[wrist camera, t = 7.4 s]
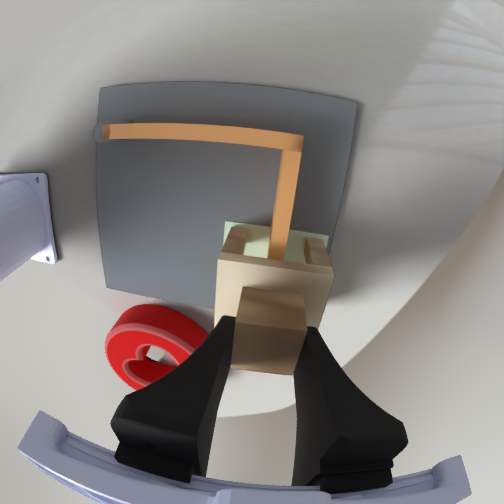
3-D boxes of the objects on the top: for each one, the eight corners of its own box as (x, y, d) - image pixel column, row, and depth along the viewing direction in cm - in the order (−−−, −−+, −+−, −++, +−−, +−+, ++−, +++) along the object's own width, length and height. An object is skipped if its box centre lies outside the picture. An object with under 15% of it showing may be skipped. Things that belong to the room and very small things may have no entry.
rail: (124, 276, 20) (105, 298, 17) (120, 120, 15) (93, 121, 12) (274, 301, 19) (273, 329, 17) (302, 131, 15) (308, 132, 12)
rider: (225, 301, 20) (203, 379, 13) (231, 226, 17) (204, 291, 11) (304, 312, 19) (311, 392, 13) (322, 239, 17) (345, 309, 11)
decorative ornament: (203, 391, 26) (197, 415, 23) (116, 357, 25) (104, 378, 22) (231, 329, 22) (225, 357, 19) (121, 285, 21) (102, 308, 18)
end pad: (218, 306, 20) (218, 306, 20) (225, 220, 17) (225, 221, 17) (307, 317, 20) (307, 318, 20) (328, 235, 17) (329, 236, 17)
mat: (109, 283, 21) (106, 287, 20) (104, 88, 14) (100, 88, 14) (309, 316, 20) (310, 321, 20) (354, 103, 14) (357, 102, 13)
